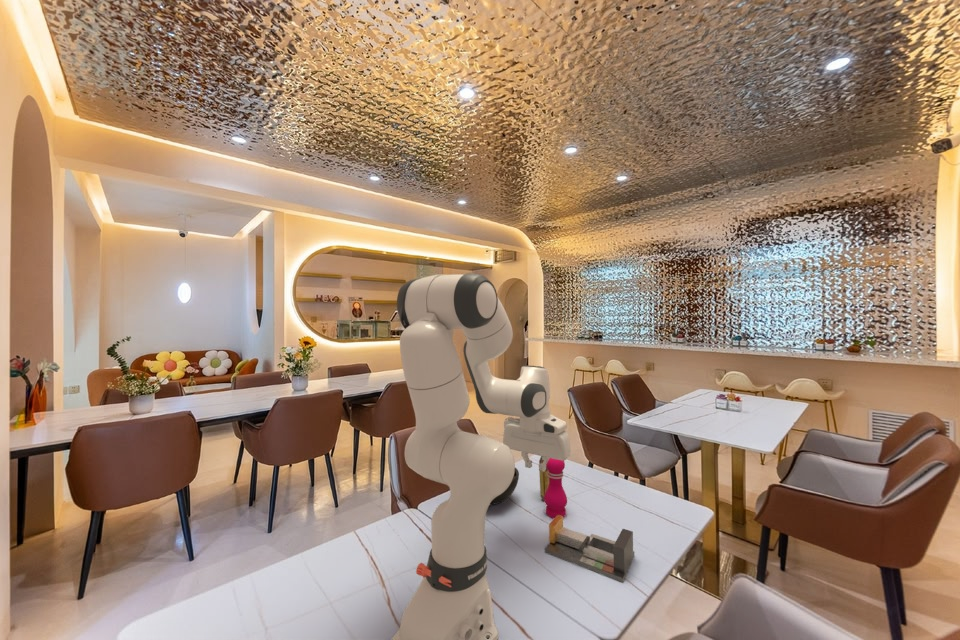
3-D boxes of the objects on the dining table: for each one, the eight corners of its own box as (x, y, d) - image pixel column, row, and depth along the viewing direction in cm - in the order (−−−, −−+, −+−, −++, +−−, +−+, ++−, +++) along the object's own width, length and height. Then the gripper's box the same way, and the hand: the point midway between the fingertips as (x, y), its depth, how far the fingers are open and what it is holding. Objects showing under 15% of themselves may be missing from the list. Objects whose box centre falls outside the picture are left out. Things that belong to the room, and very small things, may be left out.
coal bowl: (527, 494, 130) (526, 441, 130) (505, 522, 112) (504, 461, 112) (477, 483, 139) (477, 434, 139) (450, 508, 121) (449, 451, 121)
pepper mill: (569, 519, 113) (568, 455, 113) (546, 519, 113) (545, 455, 114) (564, 507, 121) (564, 447, 121) (542, 507, 121) (542, 447, 121)
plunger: (583, 562, 91) (583, 542, 91) (544, 547, 98) (544, 529, 98) (594, 543, 99) (594, 526, 99) (557, 531, 105) (557, 514, 105)
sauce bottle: (561, 498, 127) (561, 441, 127) (552, 504, 122) (551, 445, 123) (545, 492, 132) (545, 437, 132) (536, 498, 127) (535, 441, 127)
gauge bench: (622, 582, 86) (622, 552, 86) (544, 552, 97) (544, 526, 97) (634, 555, 96) (634, 528, 96) (562, 530, 107) (562, 507, 107)
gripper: (498, 418, 109) (499, 464, 109) (563, 429, 97) (564, 481, 97) (509, 413, 114) (509, 457, 114) (572, 423, 102) (572, 473, 102)
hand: (535, 468), depth 106 cm, fingers open, 3 cm apart
